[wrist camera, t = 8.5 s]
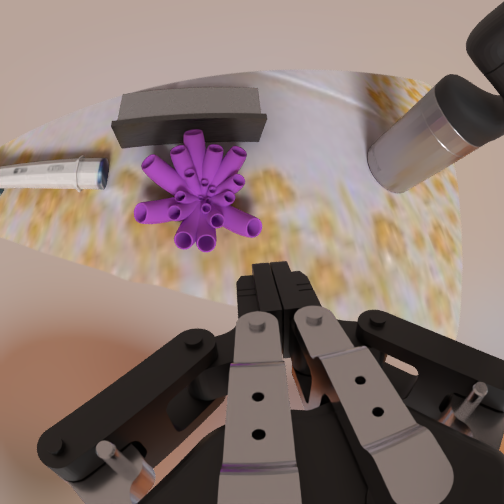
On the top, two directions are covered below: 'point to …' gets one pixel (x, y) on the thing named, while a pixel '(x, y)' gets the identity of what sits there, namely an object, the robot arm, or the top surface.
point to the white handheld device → (57, 174)
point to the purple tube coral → (198, 192)
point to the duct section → (189, 116)
